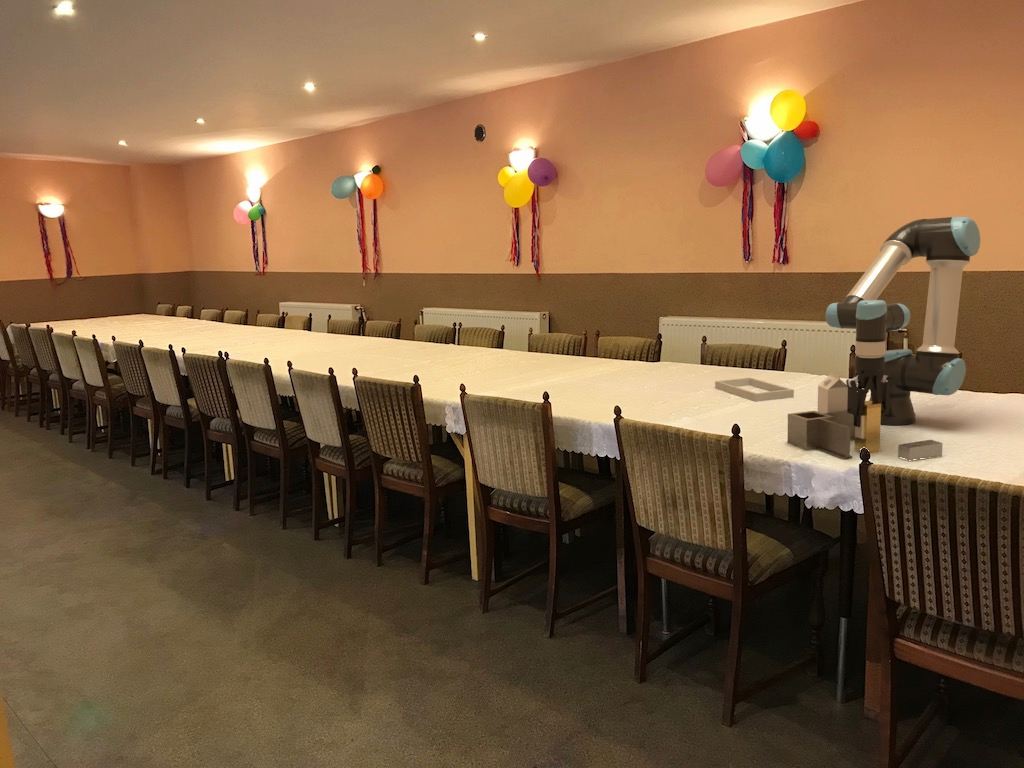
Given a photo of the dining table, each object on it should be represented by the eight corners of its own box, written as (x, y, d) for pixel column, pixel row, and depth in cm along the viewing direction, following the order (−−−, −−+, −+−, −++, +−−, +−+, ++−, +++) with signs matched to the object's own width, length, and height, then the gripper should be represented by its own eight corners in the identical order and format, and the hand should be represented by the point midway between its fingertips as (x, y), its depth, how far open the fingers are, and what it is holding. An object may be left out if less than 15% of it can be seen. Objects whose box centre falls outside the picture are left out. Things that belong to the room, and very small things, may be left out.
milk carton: (838, 429, 238) (840, 371, 235) (849, 435, 231) (851, 374, 228) (816, 431, 238) (818, 372, 235) (826, 436, 231) (828, 376, 228)
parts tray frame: (750, 384, 317) (750, 377, 317) (793, 397, 288) (793, 389, 288) (715, 388, 313) (715, 381, 313) (755, 401, 284) (755, 393, 284)
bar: (930, 453, 209) (930, 439, 209) (941, 457, 206) (942, 442, 205) (897, 458, 206) (898, 444, 206) (909, 462, 203) (909, 448, 202)
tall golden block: (868, 447, 217) (869, 400, 215) (879, 451, 213) (881, 403, 210) (854, 449, 216) (855, 402, 214) (865, 453, 212) (867, 405, 209)
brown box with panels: (847, 434, 232) (848, 406, 230) (898, 451, 212) (899, 420, 210) (787, 442, 227) (787, 413, 225) (833, 460, 207) (834, 429, 205)
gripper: (886, 351, 215) (884, 430, 220) (833, 356, 211) (832, 436, 215) (906, 354, 208) (903, 435, 212) (851, 360, 204) (849, 443, 208)
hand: (867, 436), depth 214 cm, fingers closed on tall golden block, 5 cm apart
